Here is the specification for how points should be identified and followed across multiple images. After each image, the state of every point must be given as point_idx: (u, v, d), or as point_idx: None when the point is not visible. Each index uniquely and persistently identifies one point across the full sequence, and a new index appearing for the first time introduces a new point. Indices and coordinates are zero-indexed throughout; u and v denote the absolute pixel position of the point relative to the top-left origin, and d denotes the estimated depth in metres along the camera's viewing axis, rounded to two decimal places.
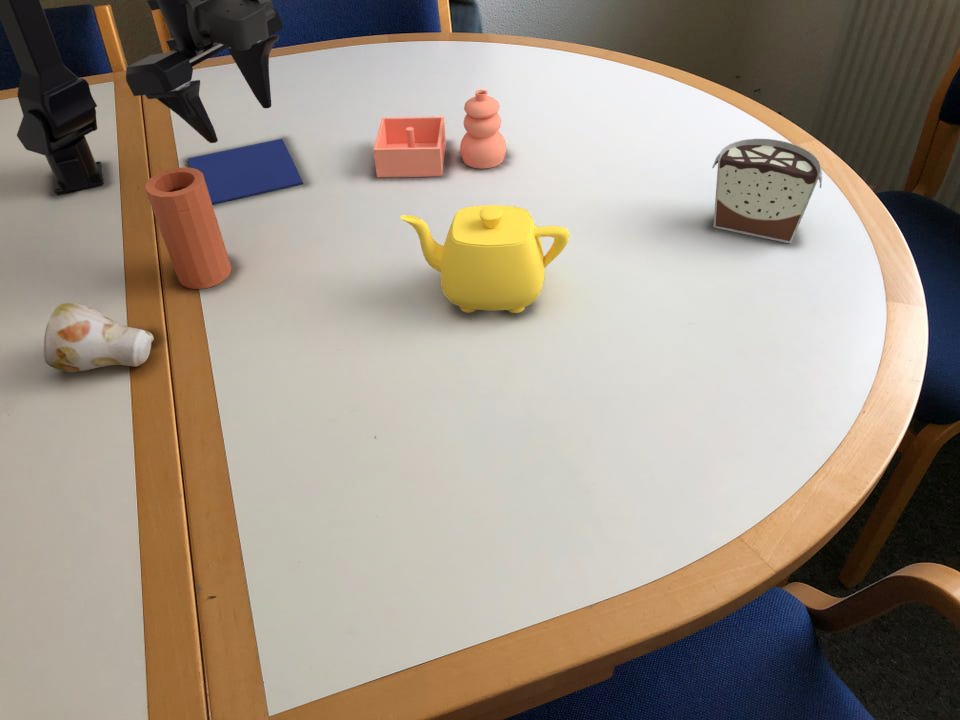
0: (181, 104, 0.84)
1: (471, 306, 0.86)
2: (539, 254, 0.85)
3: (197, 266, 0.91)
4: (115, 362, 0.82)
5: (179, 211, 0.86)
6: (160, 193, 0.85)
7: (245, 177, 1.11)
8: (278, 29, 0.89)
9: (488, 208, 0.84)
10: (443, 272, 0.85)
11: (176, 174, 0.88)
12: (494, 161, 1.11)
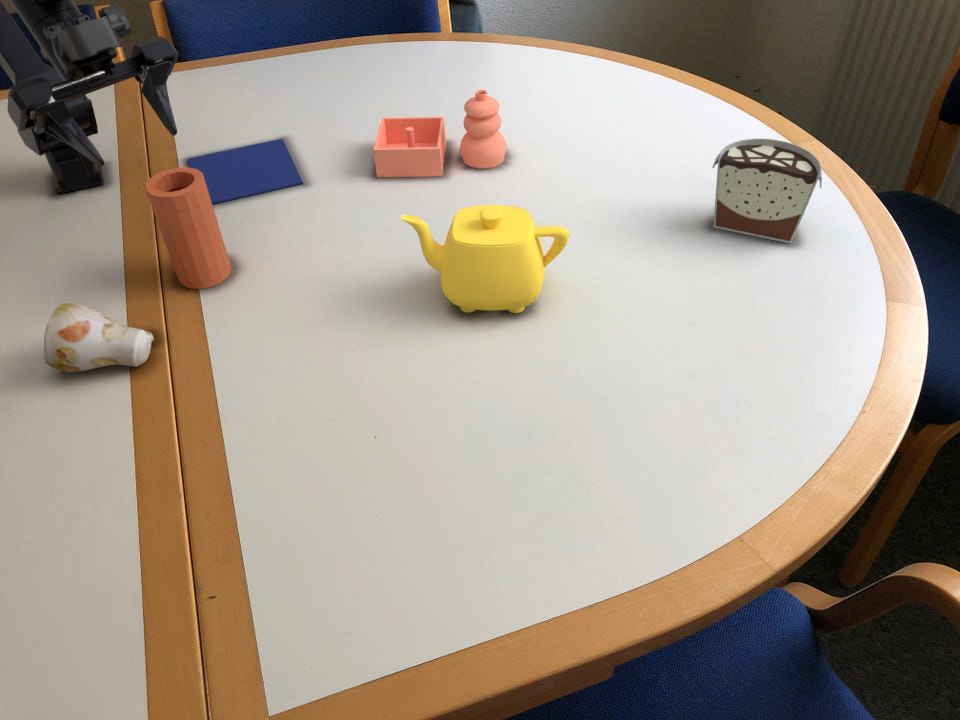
0: (65, 132, 0.87)
1: (471, 306, 0.86)
2: (539, 254, 0.85)
3: (197, 266, 0.91)
4: (115, 362, 0.82)
5: (179, 211, 0.86)
6: (160, 193, 0.85)
7: (245, 177, 1.11)
8: (168, 55, 0.91)
9: (488, 208, 0.84)
10: (443, 272, 0.85)
11: (176, 174, 0.88)
12: (494, 161, 1.11)
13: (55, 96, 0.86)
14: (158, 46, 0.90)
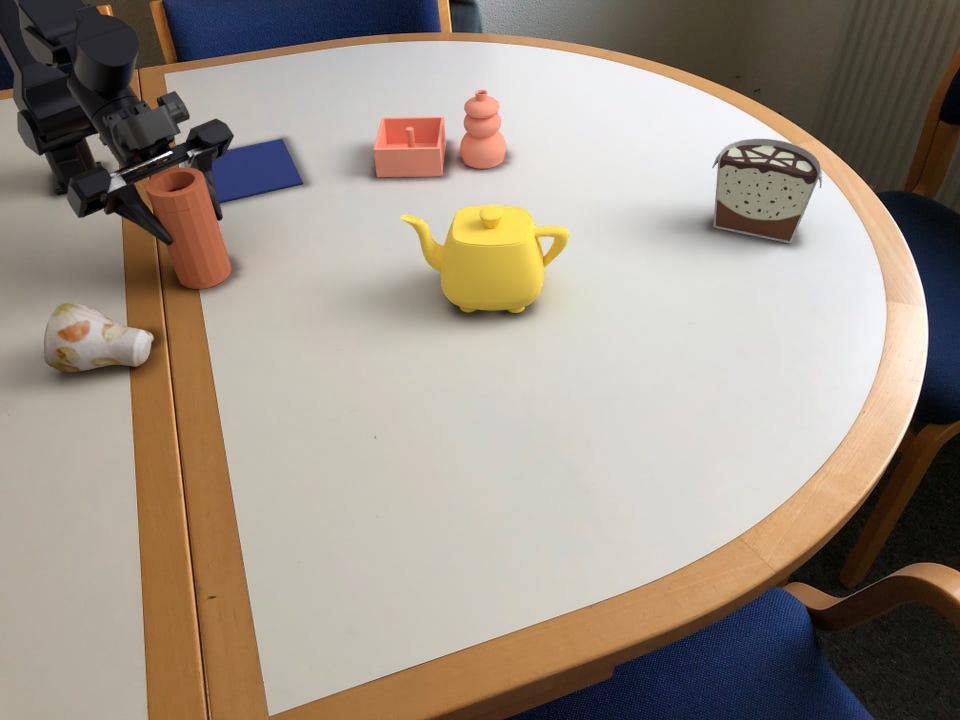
0: (134, 213, 0.88)
1: (471, 306, 0.86)
2: (539, 254, 0.85)
3: (197, 266, 0.91)
4: (115, 362, 0.82)
5: (179, 211, 0.86)
6: (160, 193, 0.85)
7: (245, 177, 1.11)
8: (223, 137, 0.91)
9: (488, 208, 0.84)
10: (443, 272, 0.85)
11: (176, 174, 0.88)
12: (494, 161, 1.11)
13: None
14: (214, 129, 0.90)
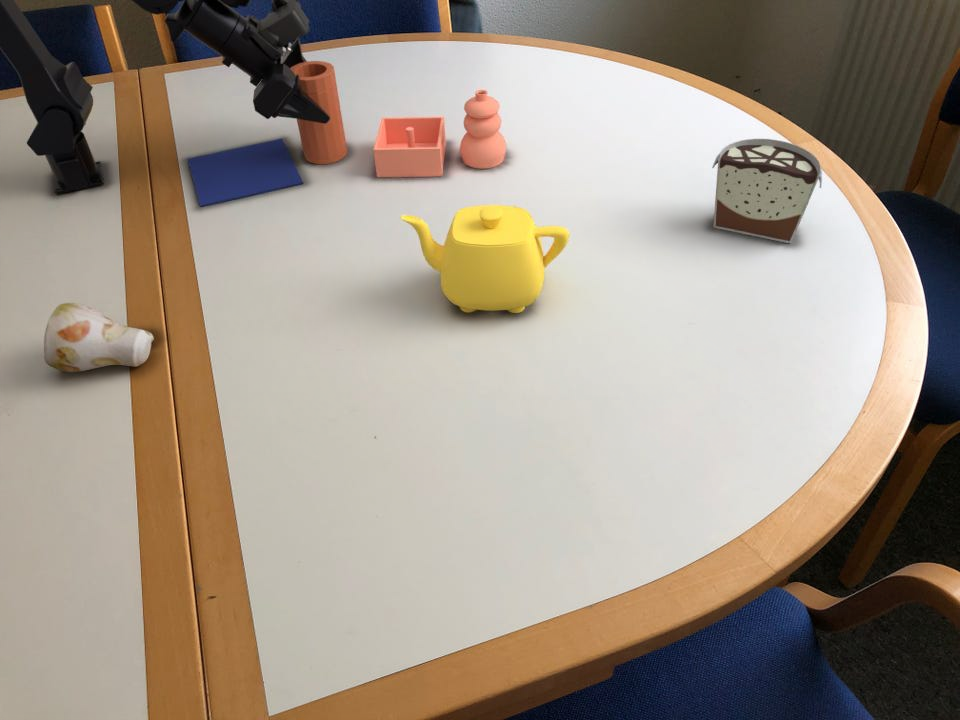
0: (295, 106, 1.04)
1: (471, 306, 0.86)
2: (539, 254, 0.85)
3: (341, 137, 1.13)
4: (115, 362, 0.82)
5: (333, 87, 1.08)
6: (318, 76, 1.06)
7: (245, 177, 1.11)
8: None
9: (488, 208, 0.84)
10: (443, 272, 0.85)
11: (298, 70, 1.08)
12: (494, 161, 1.11)
13: None
14: None
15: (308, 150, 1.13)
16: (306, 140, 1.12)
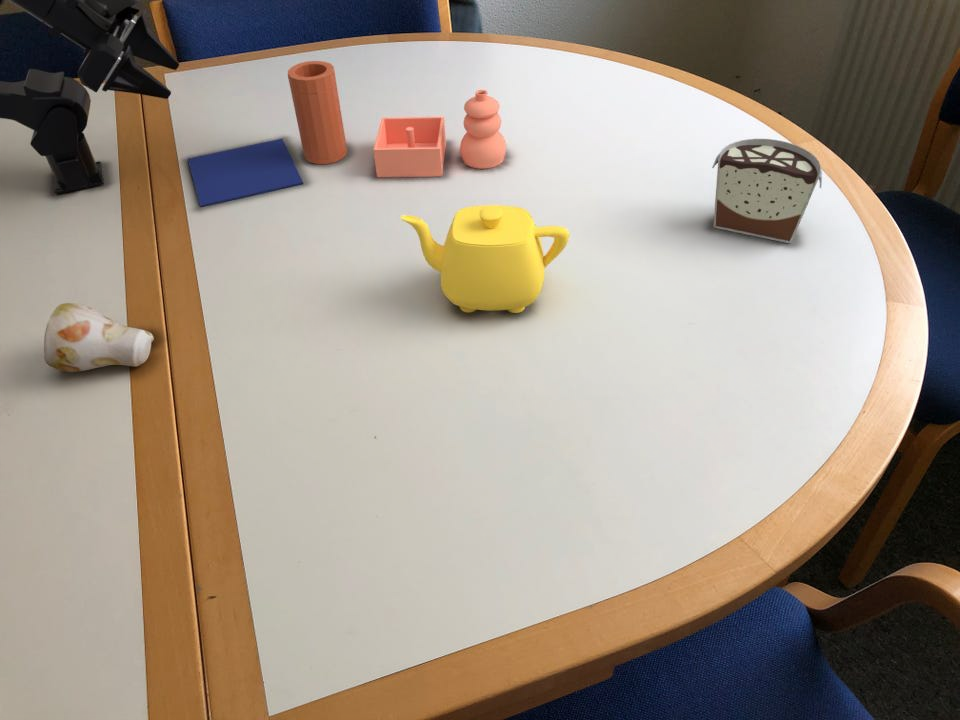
0: (129, 80, 0.99)
1: (471, 306, 0.86)
2: (539, 254, 0.85)
3: (341, 137, 1.13)
4: (115, 362, 0.82)
5: (333, 87, 1.08)
6: (318, 76, 1.06)
7: (245, 177, 1.11)
8: (140, 5, 1.06)
9: (488, 208, 0.84)
10: (443, 272, 0.85)
11: (298, 70, 1.08)
12: (494, 161, 1.11)
13: None
14: None
15: (308, 150, 1.13)
16: (306, 140, 1.12)
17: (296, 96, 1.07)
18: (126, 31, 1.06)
